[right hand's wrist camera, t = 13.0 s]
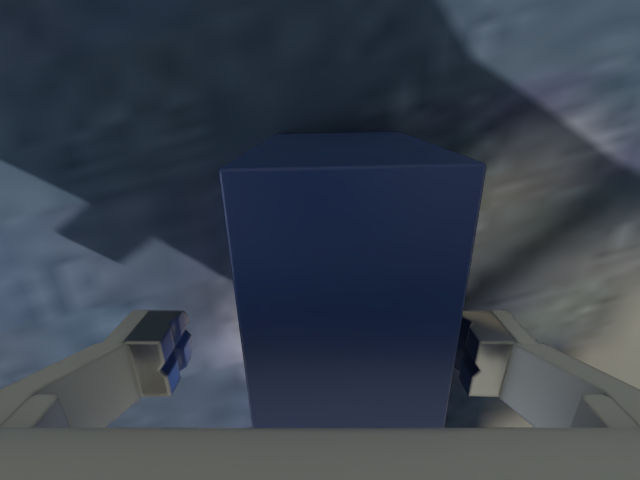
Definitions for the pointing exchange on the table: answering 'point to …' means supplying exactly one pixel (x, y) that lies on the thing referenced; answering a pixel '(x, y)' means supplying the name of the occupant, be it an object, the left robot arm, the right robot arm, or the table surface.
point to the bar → (350, 276)
